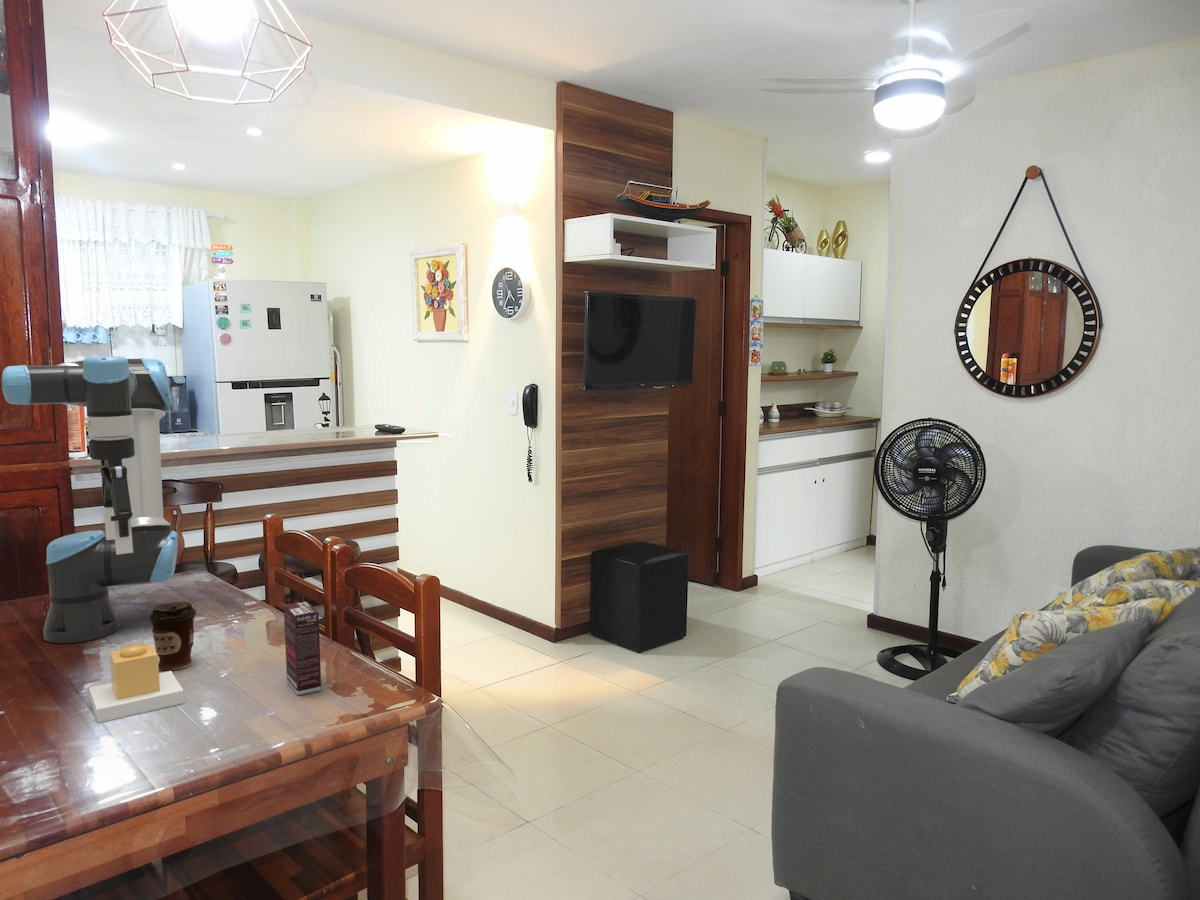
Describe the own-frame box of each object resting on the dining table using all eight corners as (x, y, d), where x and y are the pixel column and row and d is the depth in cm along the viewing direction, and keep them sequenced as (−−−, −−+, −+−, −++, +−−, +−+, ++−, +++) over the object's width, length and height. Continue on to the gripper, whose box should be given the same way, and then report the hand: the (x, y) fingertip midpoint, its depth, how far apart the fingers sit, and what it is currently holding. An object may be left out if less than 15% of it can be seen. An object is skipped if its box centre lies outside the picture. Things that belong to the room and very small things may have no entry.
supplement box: (322, 690, 163) (319, 611, 161) (297, 696, 160) (293, 616, 158) (310, 676, 170) (307, 600, 168) (285, 681, 167) (282, 604, 165)
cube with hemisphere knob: (112, 687, 158) (108, 645, 157) (153, 678, 162) (150, 638, 161) (117, 700, 153) (114, 656, 152) (160, 690, 157) (157, 648, 156)
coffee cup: (178, 675, 171) (174, 613, 169) (143, 672, 172) (138, 610, 171) (206, 659, 179) (203, 600, 177) (172, 656, 181) (168, 598, 179)
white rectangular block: (90, 700, 158) (87, 662, 157) (171, 682, 167) (169, 646, 166) (97, 723, 149) (94, 682, 148) (184, 703, 157) (181, 664, 156)
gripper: (81, 432, 168) (89, 535, 171) (97, 446, 148) (105, 562, 151) (123, 430, 172) (130, 531, 175) (144, 443, 152) (152, 556, 155)
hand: (119, 546), depth 163 cm, fingers open, 13 cm apart
